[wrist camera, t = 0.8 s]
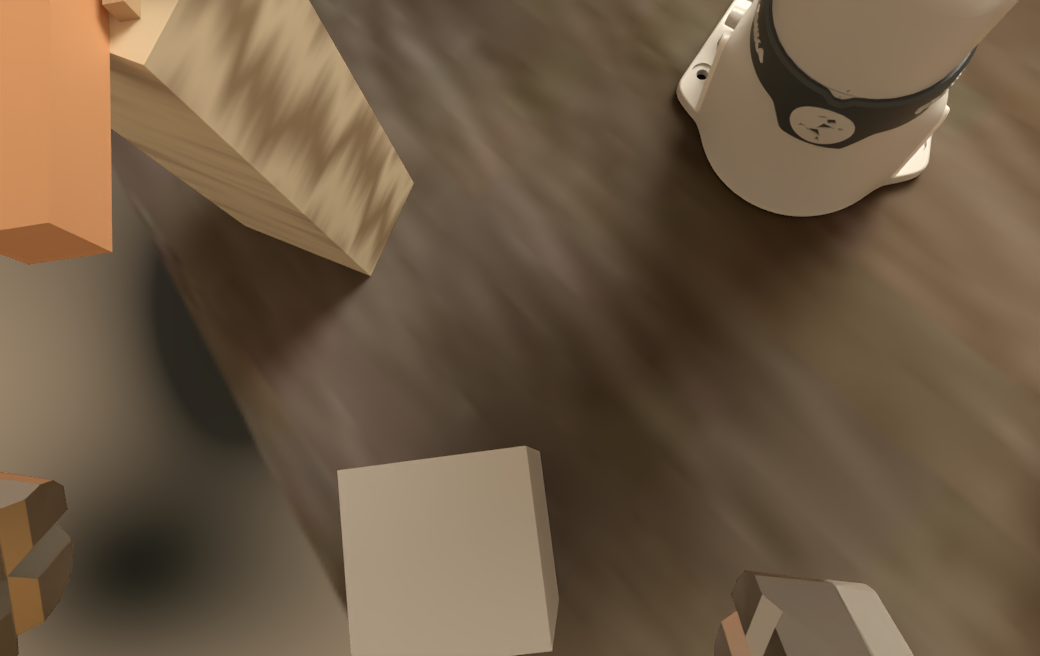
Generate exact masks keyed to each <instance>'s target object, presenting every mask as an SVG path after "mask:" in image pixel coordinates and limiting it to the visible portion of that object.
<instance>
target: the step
mask: <svg viewBox="0 0 1040 656" xmlns="http://www.w3.org/2000/svg"><path fill="white" fill-rule="evenodd" d="M337 473H338V487H339V500H340V514H341V527H342V541H343V555H344V568H345V582H346V595H347V609H348V622H349V636H350V649H351V656H514V655H523V654H531V653H540V652H548V651H552V648H553V641H554V634H555V626H556V619H557V612H558V604H559V595H558V587H557V579H556V572H555V564H554V556H553V549H552V541H551V533H550V526H549V518H548V510H547V503H546V495H545V487H544V480H543V472H542V464H541V457H540V452H539V451H537V450H535V449H533V448H530V447H528V446H519V447H512V448H504V449H496V450H489V451H481V452H474V453H466V454H458V455H451V456H443V457H436V458H428V459H420V460H413V461H405V462H398V463H390V464H382V465H375V466H367V467H360V468H352V469H345V470H337Z"/></svg>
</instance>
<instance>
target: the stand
mask: <svg viewBox="0 0 1040 656" xmlns="http://www.w3.org/2000/svg"><path fill="white" fill-rule="evenodd" d="M102 5H103V6H104V7H105V8H106V9H107V10H108V11H109V32H110V112H111V129H113V130H114V131H116V132H117V133H118V134H120V135H121V136H122V137H124V138H125V139H127V140H128V141H129V142H131V143H132V144H133V145H135V146H136V147H137V148H139V149H140V150H142V151H143V152H144V153H146V154H147V155H148V156H150V157H151V158H153V159H154V160H155V161H157V162H158V163H159V164H161V165H162V166H164V167H165V168H166V169H168V170H169V171H170V172H172V173H173V174H175V175H176V176H177V177H179V178H180V179H181V180H183V181H184V182H185V183H187V184H188V185H190V186H191V187H192V188H194V189H195V190H196V191H198V192H199V193H201V194H202V195H203V196H205V197H206V198H207V199H209V200H210V201H212V202H213V203H214V204H216V205H217V206H218V207H220V208H221V209H223V210H224V211H225V212H227V213H228V214H229V215H231V216H232V217H233V218H235V219H236V220H238V221H239V222H240V223H242V224H243V225H244V226H246V227H249V228H251V229H254V230H256V231H259V232H261V233H264V234H266V235H269V236H271V237H274V238H276V239H279V240H281V241H284V242H286V243H289V244H291V245H294V246H296V247H299V248H301V249H304V250H306V251H309V252H311V253H314V254H316V255H319V256H321V257H324V258H326V259H329V260H331V261H334V262H336V263H339V264H341V265H344V266H346V267H349V268H351V269H354V270H356V271H359V272H361V273H364V274H366V275H369V276H371V275H372V272H373V270H374V268H375V266H376V264H377V262H378V259H379V257H380V255H381V253H382V251H383V249H384V246H385V244H386V242H387V240H388V238H389V236H390V233H391V231H392V229H393V227H394V225H395V223H396V221H397V218H398V216H399V214H400V212H401V210H402V208H403V205H404V203H405V201H406V199H407V197H408V195H409V192H410V190H411V188H412V186H413V184H414V183H413V181H412V179H411V177H410V176H409V174H408V172H407V170H406V169H405V167H404V165H403V164H402V162H401V160H400V158H399V157H398V155H397V153H396V151H395V150H394V148H393V146H392V144H391V143H390V141H389V139H388V137H387V136H386V134H385V132H384V130H383V129H382V127H381V125H380V123H379V122H378V120H377V118H376V116H375V115H374V113H373V111H372V109H371V108H370V106H369V104H368V102H367V101H366V99H365V97H364V95H363V94H362V92H361V90H360V88H359V87H358V85H357V83H356V81H355V80H354V78H353V76H352V75H351V73H350V71H349V69H348V68H347V66H346V64H345V62H344V61H343V59H342V57H341V55H340V54H339V52H338V50H337V48H336V47H335V45H334V43H333V41H332V40H331V38H330V36H329V34H328V33H327V31H326V29H325V27H324V26H323V24H322V22H321V20H320V19H319V17H318V15H317V13H316V12H315V10H314V8H313V6H312V5H311V3H310V1H309V0H102Z"/></svg>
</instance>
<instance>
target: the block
mask: <svg viewBox="0 0 1040 656" xmlns="http://www.w3.org/2000/svg"><path fill="white" fill-rule="evenodd" d="M111 195H112V194H111V112H110V32H109V11H108V10H107V9H106V8H105V7H104V6H103V5H102V0H0V254H2V255H4V256H7V257H10V258H12V259H15V260H18V261H20V262H23V263H26V264H28V265H29V264H36V263H42V262H49V261H56V260H63V259H69V258H75V257H83V256H89V255H95V254H102V253H109V252H112V201H111V200H112V199H111V197H112V196H111Z"/></svg>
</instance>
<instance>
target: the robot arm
mask: <svg viewBox="0 0 1040 656" xmlns="http://www.w3.org/2000/svg"><path fill="white" fill-rule="evenodd" d="M1018 1H1019V0H734V1H733V3H732V4H731V5H730V7H729V8H728V10H727V11H726V13H725V14H724V16H723V17H722V19H721V20H720V22H719V23H718V25H717V26H716V28H715V29H714V31H713V32H712V34H711V35H710V36H709V38H708V39H707V41H706V42H705V44H704V45H703V47H702V48H701V50H700V51H699V53H698V54H697V56H696V57H695V59H694V60H693V62H692V63H691V65H690V66H689V68H688V69H687V70H686V72H685V73H684V75H683V76H682V78H681V80H680V82H679V84H678V86H677V90H676V94H677V97H678V100H679V101H680V103H681V105H682V106H683V107H684V109H685V110H686V111H687V112H688V114H689V115H690V116H691V117H692V118H693V120H694V121H695V122H696V124H697V127H698V130H699V133H700V137H701V140H702V144H703V148H704V151H705V154H706V156H707V158H708V160H709V162H710V164H711V166H712V168H713V169H714V171H715V172H716V174H717V175H718V176H719V178H720V179H721V180H722V181H723V182H724V183H725V184H726V185H727V186H728V187H729V188H730V189H731V190H732V191H733V192H734V193H736V194H737V195H738V196H740V197H741V198H743V199H744V200H746V201H747V202H749V203H751V204H753V205H755V206H757V207H759V208H762V209H764V210H767V211H770V212H774V213H778V214H782V215H788V216H817V215H823V214H828V213H832V212H835V211H838V210H841V209H843V208H846V207H848V206H850V205H852V204H854V203H856V202H857V201H859V200H860V199H862V198H863V197H865V196H866V195H868V194H869V193H871V192H872V191H874V190H875V189H877V188H879V187H881V186H883V185H889V184H894V183H899V182H903V181H907V180H910V179H913V178H915V177H917V176H918V175H920V174H921V173H922V171H923V170H924V169H925V168H926V166H927V165H928V162H929V156H930V147H931V137H932V134H933V133H934V132H935V130H936V129H937V128H938V127H939V126H940V125H941V123H942V122H943V121H944V120H945V118H946V117H947V115H948V113H949V107H948V106H947V105H946V103H947V99H948V90H949V89H950V88H951V86H952V85H953V84H954V83H955V82H956V80H957V79H958V78H959V76H960V75H961V74H962V71H963V70H964V68H965V67H966V66H967V64H968V63H969V61H970V60H971V58H972V56H973V54H974V52H975V50H976V48H977V45H978V43H979V42H980V41H981V40H982V39H983V38H984V37H985V36H986V35H987V34H988V33H989V32H990V31H991V30H992V29H993V28H994V26H995V25H996V24H997V23H998V22H999V21H1000V20H1001V19H1002V18H1003V17H1004V16H1005V15H1006V14H1007V13H1008V12H1009V10H1010V9H1011V8H1012V7H1013V6H1014V5H1015V4H1016V3H1017V2H1018ZM700 74H701V75H704V76H705V77H706V79H704V80H700V79H698V78H697V75H700ZM66 510H67V503H66V498H65V493H64V487H63V486H62V485H60V484H59V483H57V482H55V481H54V480H49V479H43V478H36V477H30V476H23V475H17V474H10V473H3V472H0V656H17V655H18V654H19V652H18V637H17V636H18V635H20V634H22V633H24V632H26V631H28V630H29V629H31V628H33V627H35V626H37V625H39V624H41V623H43V622H44V621H45V620H46V619H47V617H48V616H49V615H50V613H51V612H52V611H53V609H54V608H55V607H56V605H57V604H58V603H59V601H60V600H61V597H62V595H63V592H64V590H65V588H66V586H67V583H68V581H69V579H70V576H71V570H72V562H73V548H72V540H71V538H70V537H69V536H68V535H67V534H66V533H65V532H64V531H63V529H62V528H61V527H60V526H59V525H58V524H57V523H56V522H57V521H58V519H59V518H60V517H61V516H62V515H63V514H64V513H65V511H66ZM731 595H732V598H733V601H734V604H735V607H736V610H737V611H736V612H734V613H733V614H731V615H730V616H729V617H727V618H726V619H724V620H723V621H721V624H720V628H719V631H718V634H717V637H716V640H715V647H714V656H914V655H913V654H912V652H911V650H910V648H909V647H908V645H907V643H906V642H905V640H904V638H903V637H902V635H901V633H900V632H899V630H898V628H897V627H896V625H895V623H894V622H893V620H892V618H891V617H890V615H889V613H888V612H887V610H886V608H885V607H884V605H883V603H882V602H881V600H880V598H879V597H878V595H877V593H876V592H875V591H874V590H873V589H872V588H870V587H869V586H868V585H866V584H862V583H853V582H844V581H835V580H818V579H810V578H802V577H794V576H786V575H778V574H770V573H762V572H754V571H746V570H745V571H744V572H743V573H742V574H741V575H740V576H739V577H738V579H737V581H736V584H735V586H734V589H733V591H732V594H731Z"/></svg>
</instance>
